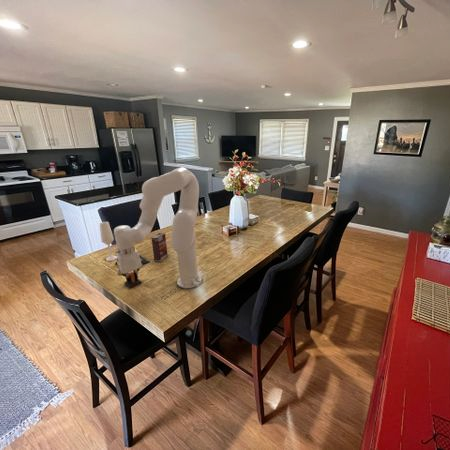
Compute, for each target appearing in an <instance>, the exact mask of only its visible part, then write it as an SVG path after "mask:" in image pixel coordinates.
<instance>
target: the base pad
mask: <svg viewBox="0 0 450 450" xmlns="http://www.w3.org/2000/svg"><path fill="white" fill-rule="evenodd" d="M139 257H140V261H141V264H142V265H143V266H144V265H145V264H148V263H149V260H147V259H146V258H145V257H143V256H141V255H140V254H139ZM115 264H116V266H118V264H117V261H115Z"/></svg>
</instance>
